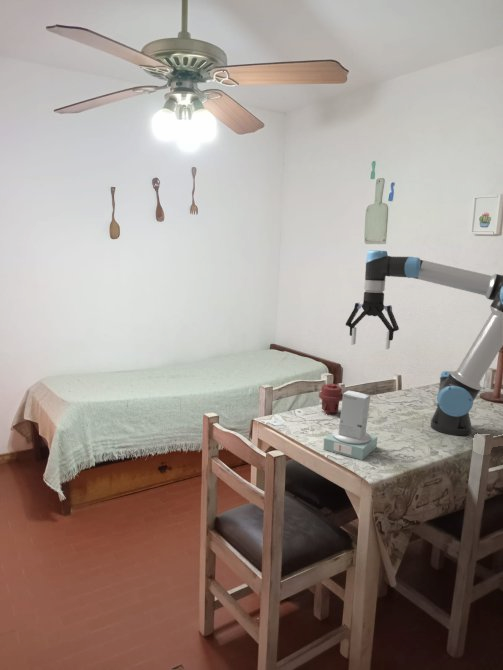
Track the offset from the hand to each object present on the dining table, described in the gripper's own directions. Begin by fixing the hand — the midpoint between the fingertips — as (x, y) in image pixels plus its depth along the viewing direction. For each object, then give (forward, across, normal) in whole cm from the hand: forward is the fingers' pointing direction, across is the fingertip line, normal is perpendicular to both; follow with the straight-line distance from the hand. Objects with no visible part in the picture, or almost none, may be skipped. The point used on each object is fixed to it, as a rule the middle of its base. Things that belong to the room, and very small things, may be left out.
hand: (370, 346), depth 190 cm
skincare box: (+27, -4, +26) cm, 38 cm away
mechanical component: (+32, +17, -6) cm, 37 cm away
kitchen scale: (+32, -4, +26) cm, 41 cm away
